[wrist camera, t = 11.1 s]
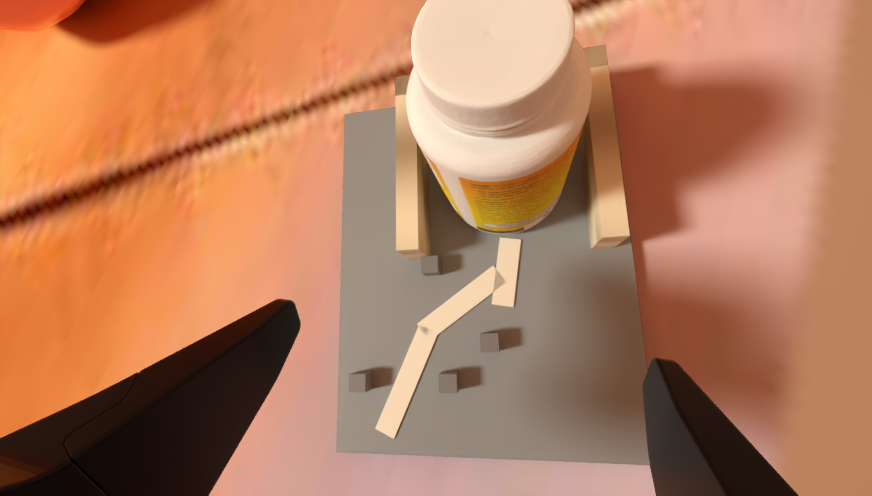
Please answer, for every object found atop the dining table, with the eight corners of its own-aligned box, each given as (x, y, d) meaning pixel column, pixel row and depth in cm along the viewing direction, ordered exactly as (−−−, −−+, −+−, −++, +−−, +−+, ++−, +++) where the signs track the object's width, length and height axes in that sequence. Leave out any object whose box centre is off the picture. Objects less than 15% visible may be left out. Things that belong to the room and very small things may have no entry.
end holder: (614, 247, 17) (630, 235, 15) (410, 259, 19) (395, 250, 17) (594, 79, 19) (605, 44, 17) (409, 105, 21) (395, 77, 18)
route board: (654, 460, 16) (669, 474, 15) (342, 448, 19) (326, 459, 17) (607, 84, 19) (615, 64, 18) (349, 119, 22) (336, 104, 21)
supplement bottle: (586, 170, 18) (669, -9, 8) (512, 260, 18) (509, 186, 8) (494, 110, 20) (472, -99, 10) (425, 193, 20) (335, 64, 10)
